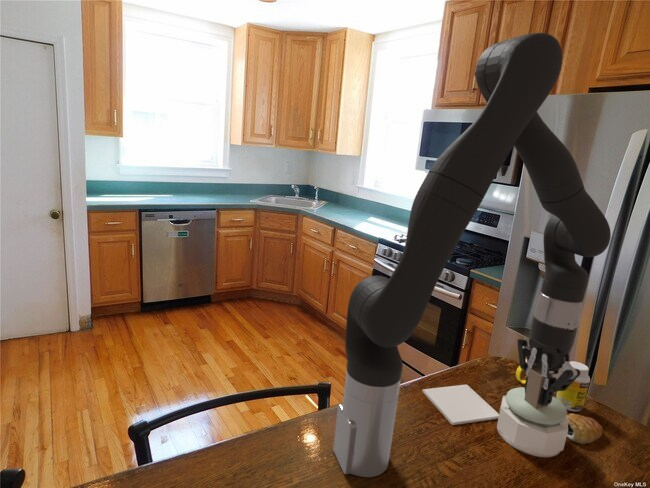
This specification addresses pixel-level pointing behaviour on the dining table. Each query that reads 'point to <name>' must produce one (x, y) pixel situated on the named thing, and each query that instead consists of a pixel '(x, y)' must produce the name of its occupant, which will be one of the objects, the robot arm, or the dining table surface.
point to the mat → (460, 404)
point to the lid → (535, 402)
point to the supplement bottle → (575, 389)
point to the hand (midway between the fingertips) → (536, 398)
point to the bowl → (531, 433)
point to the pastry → (583, 429)
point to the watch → (519, 374)
